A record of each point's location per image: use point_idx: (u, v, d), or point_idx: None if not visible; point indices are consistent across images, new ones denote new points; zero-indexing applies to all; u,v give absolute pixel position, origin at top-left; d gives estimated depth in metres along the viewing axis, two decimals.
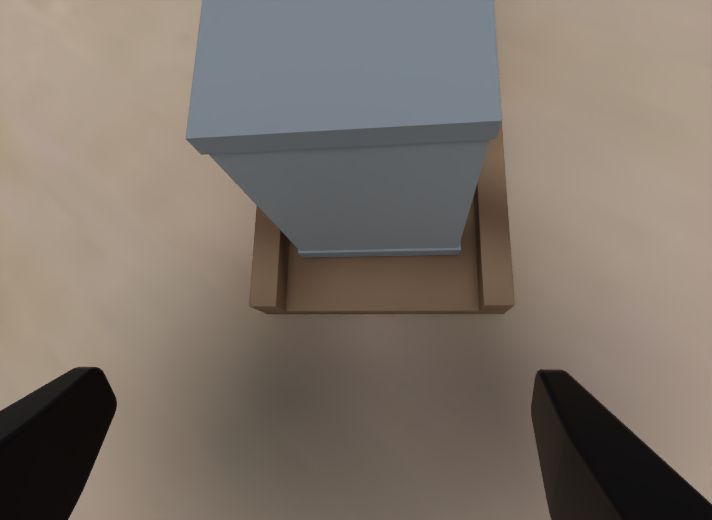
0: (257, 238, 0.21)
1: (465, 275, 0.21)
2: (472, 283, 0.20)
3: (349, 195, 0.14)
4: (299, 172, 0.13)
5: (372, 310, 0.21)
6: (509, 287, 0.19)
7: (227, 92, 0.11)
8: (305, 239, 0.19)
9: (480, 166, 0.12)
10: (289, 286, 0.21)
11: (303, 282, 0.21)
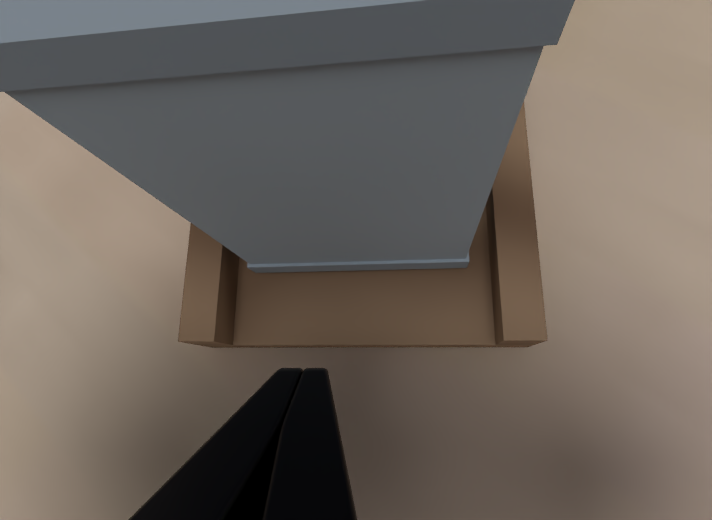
0: (192, 247, 0.15)
1: (475, 296, 0.15)
2: (485, 307, 0.15)
3: (294, 179, 0.09)
4: (194, 134, 0.07)
5: (349, 344, 0.15)
6: (539, 314, 0.13)
7: None
8: (251, 248, 0.13)
9: (514, 117, 0.07)
10: (238, 311, 0.16)
11: (257, 306, 0.16)
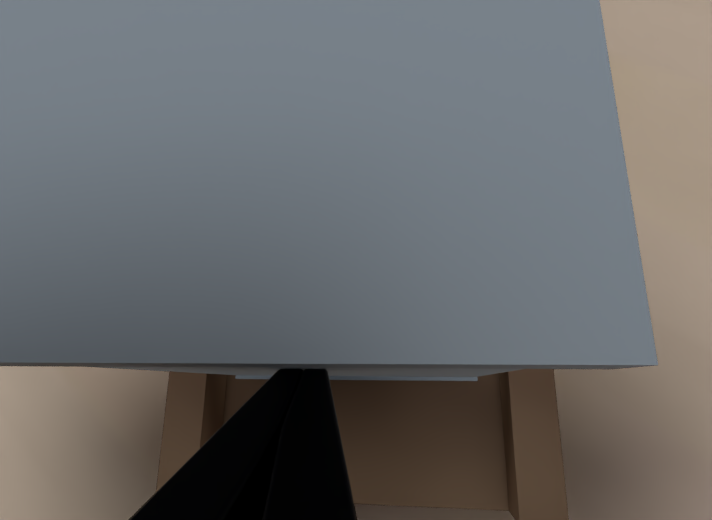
0: (171, 394, 0.14)
1: (486, 450, 0.14)
2: (497, 464, 0.13)
3: (280, 368, 0.08)
4: None
5: None
6: (560, 496, 0.12)
7: None
8: None
9: None
10: None
11: None
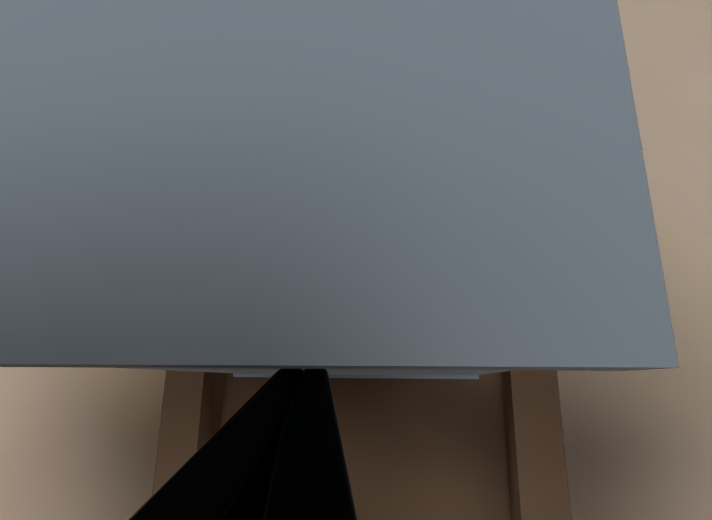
0: None
1: None
2: None
3: None
4: None
5: None
6: None
7: None
8: (235, 372, 0.12)
9: None
10: None
11: None
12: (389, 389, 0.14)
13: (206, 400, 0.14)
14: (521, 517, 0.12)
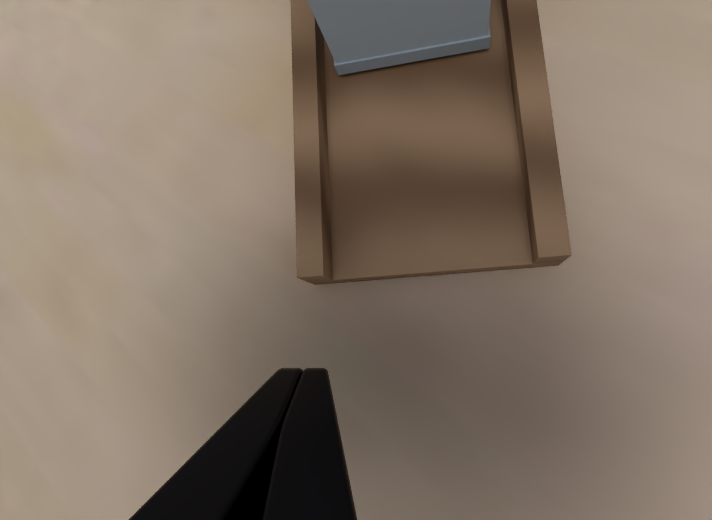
0: (298, 209, 0.21)
1: (515, 228, 0.20)
2: (523, 236, 0.20)
3: None
4: None
5: (420, 272, 0.20)
6: (564, 236, 0.18)
7: None
8: (340, 37, 0.20)
9: None
10: (334, 255, 0.21)
11: (348, 250, 0.21)
12: (434, 69, 0.22)
13: (319, 82, 0.22)
14: (519, 100, 0.19)
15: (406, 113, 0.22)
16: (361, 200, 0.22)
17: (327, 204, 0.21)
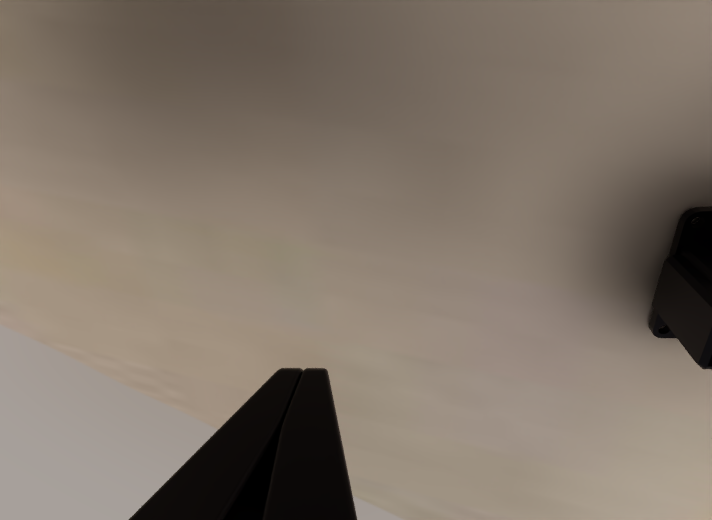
0: None
1: None
2: None
3: None
4: None
5: None
6: None
7: None
8: None
9: None
10: None
11: None
12: None
13: None
14: None
15: None
16: None
17: None
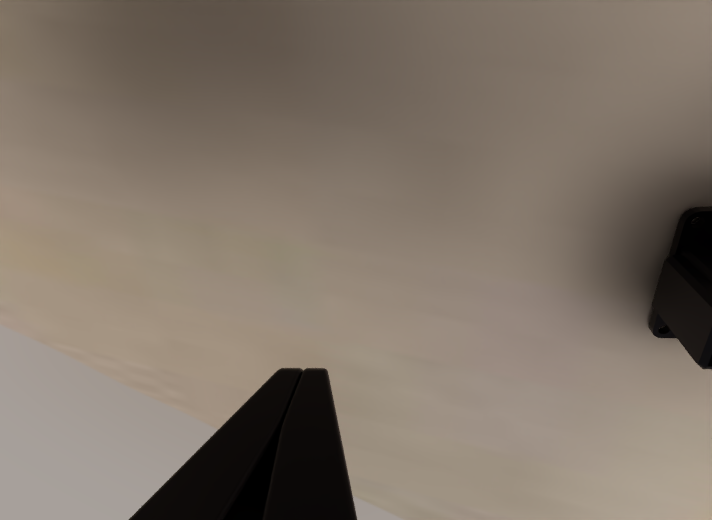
0: None
1: None
2: None
3: None
4: None
5: None
6: None
7: None
8: None
9: None
10: None
11: None
12: None
13: None
14: None
15: None
16: None
17: None
